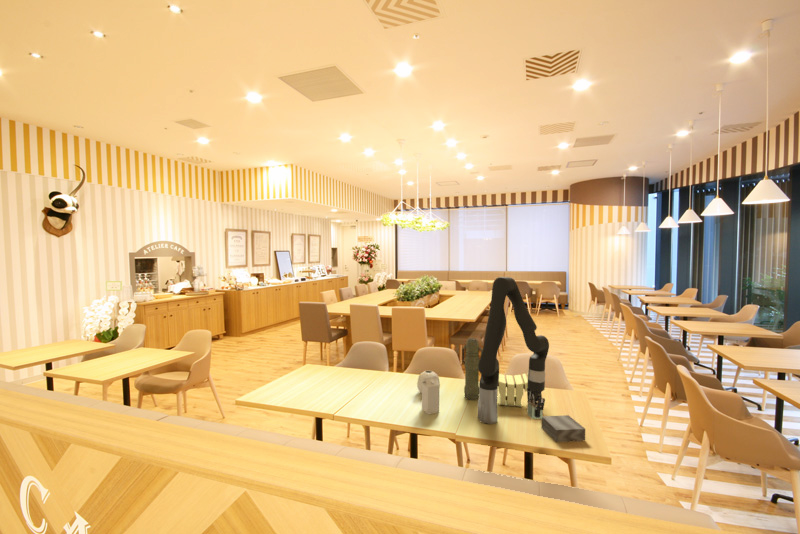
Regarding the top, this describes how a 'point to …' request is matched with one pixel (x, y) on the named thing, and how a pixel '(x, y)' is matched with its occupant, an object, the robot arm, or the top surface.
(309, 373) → the top surface
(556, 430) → the charcoal box
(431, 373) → the vase
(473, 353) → the dark green pillar
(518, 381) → the slatted curved stool
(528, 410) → the tea tin
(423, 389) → the milk carton
